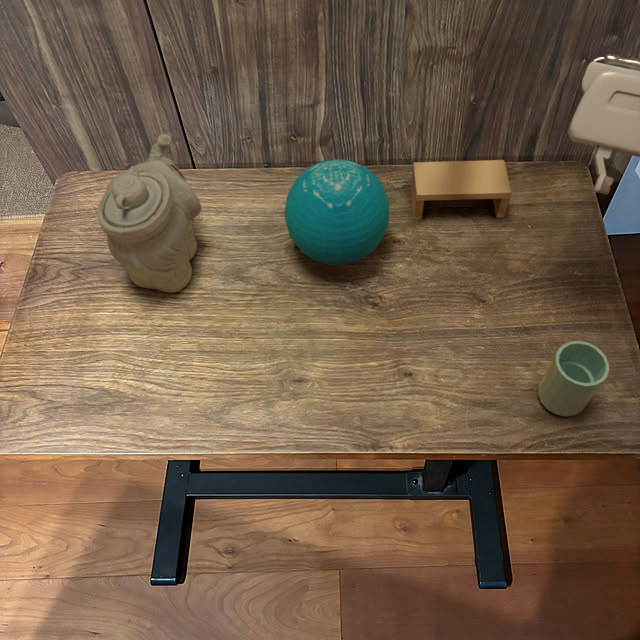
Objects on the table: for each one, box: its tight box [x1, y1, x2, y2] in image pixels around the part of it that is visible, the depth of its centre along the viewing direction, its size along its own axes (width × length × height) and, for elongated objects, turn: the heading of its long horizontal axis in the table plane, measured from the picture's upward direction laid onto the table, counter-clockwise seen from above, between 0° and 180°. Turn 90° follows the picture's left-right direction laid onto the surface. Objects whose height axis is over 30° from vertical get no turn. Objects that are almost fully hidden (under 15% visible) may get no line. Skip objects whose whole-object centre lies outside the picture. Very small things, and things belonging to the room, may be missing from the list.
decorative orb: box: [284, 158, 390, 266], centre depth 89 cm, size 15×15×15 cm
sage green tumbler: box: [537, 340, 610, 417], centre depth 77 cm, size 6×6×9 cm
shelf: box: [410, 159, 512, 221], centre depth 97 cm, size 14×7×6 cm, turn 90°
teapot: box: [97, 133, 202, 293], centre depth 88 cm, size 16×15×19 cm
